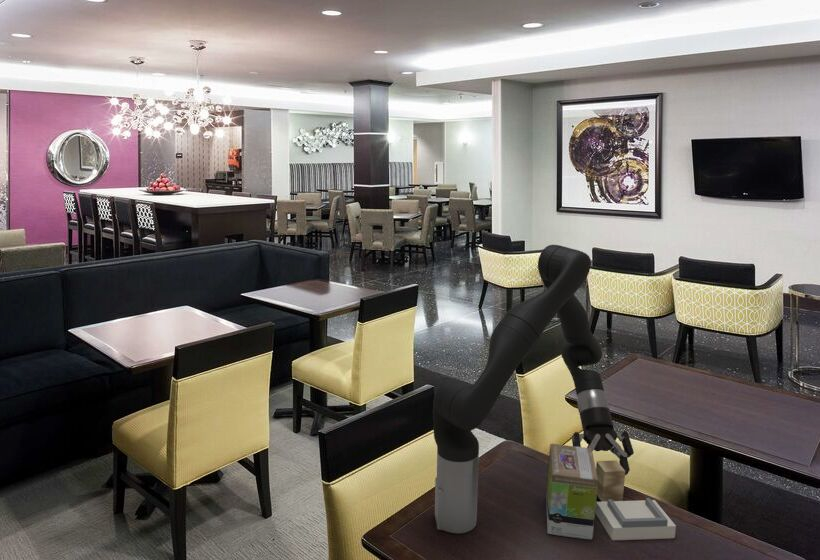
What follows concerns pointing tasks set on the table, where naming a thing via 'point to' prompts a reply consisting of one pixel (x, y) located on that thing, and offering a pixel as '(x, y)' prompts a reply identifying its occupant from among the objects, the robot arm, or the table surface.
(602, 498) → the tall cardboard box
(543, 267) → the robot arm
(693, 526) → the table surface
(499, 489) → the table surface
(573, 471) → the tea box
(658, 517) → the dock
